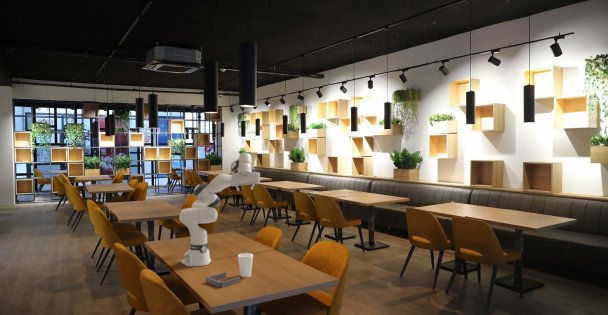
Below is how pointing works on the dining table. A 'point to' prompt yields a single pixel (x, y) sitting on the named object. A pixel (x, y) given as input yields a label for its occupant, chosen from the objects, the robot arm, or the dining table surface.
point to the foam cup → (245, 264)
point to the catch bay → (214, 282)
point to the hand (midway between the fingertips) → (244, 189)
